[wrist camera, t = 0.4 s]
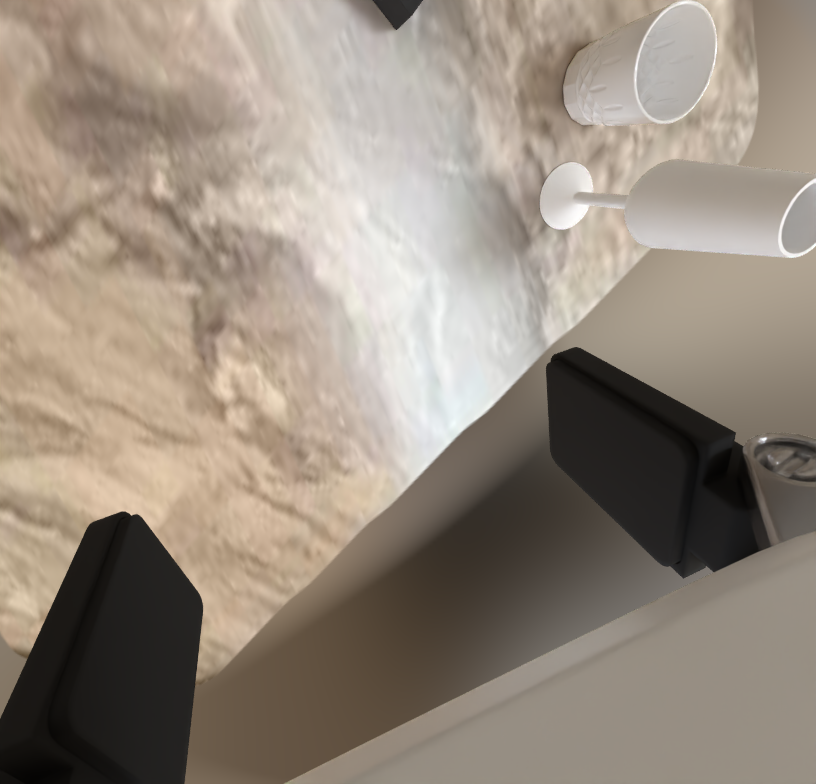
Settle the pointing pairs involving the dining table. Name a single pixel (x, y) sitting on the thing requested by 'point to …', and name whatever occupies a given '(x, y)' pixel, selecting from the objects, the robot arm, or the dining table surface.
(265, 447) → the dining table surface
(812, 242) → the champagne flute
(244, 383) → the dining table surface
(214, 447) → the dining table surface
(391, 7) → the black pad
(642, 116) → the white cup
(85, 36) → the dining table surface
